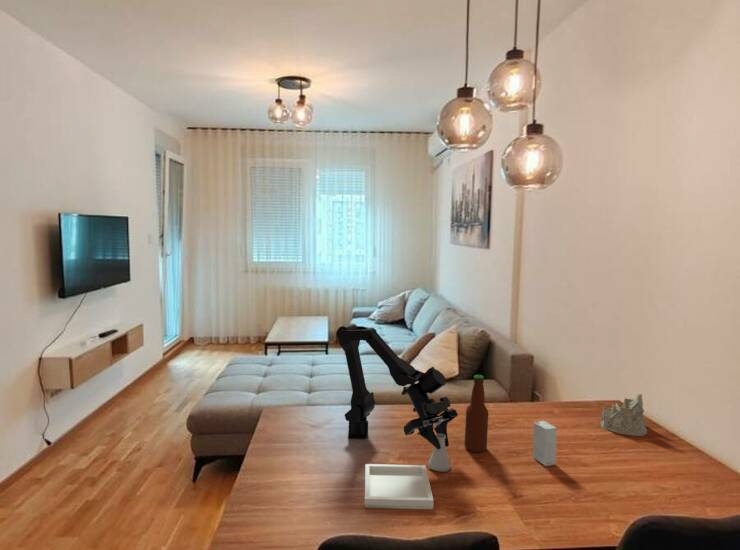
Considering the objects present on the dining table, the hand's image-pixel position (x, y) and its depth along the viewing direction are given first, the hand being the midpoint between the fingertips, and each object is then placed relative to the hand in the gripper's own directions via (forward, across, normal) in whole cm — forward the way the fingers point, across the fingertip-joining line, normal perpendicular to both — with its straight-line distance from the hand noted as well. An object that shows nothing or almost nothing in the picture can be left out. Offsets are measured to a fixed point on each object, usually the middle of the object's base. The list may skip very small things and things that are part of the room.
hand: (443, 447), depth 143 cm
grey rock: (+15, +80, -5) cm, 82 cm away
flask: (+4, 0, +6) cm, 7 cm away
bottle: (+2, +19, +8) cm, 21 cm away
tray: (+6, -19, +4) cm, 20 cm away
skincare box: (+15, +31, -5) cm, 35 cm away
